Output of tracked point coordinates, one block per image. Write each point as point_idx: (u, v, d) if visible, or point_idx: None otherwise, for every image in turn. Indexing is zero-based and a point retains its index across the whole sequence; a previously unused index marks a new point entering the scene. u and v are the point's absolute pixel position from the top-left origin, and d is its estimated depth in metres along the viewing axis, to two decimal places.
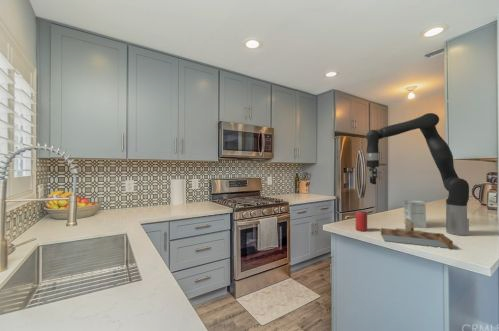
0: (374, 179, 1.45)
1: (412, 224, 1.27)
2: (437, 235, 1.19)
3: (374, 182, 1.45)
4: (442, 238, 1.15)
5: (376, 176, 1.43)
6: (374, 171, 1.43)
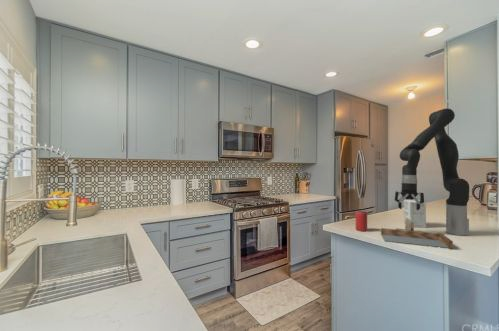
0: None
1: (412, 224, 1.27)
2: (437, 235, 1.19)
3: None
4: (442, 238, 1.15)
5: None
6: None
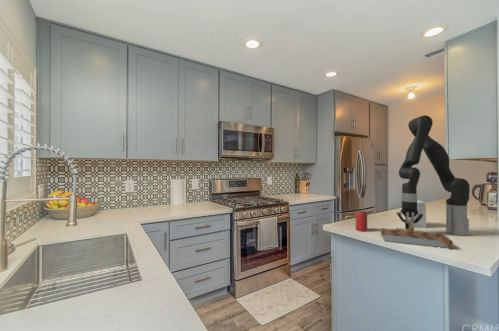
0: None
1: (412, 224, 1.27)
2: (437, 235, 1.19)
3: None
4: (442, 238, 1.15)
5: None
6: None
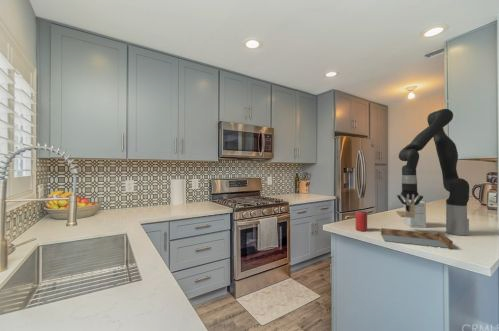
0: None
1: (412, 205, 1.27)
2: (437, 235, 1.19)
3: None
4: (442, 238, 1.15)
5: None
6: None
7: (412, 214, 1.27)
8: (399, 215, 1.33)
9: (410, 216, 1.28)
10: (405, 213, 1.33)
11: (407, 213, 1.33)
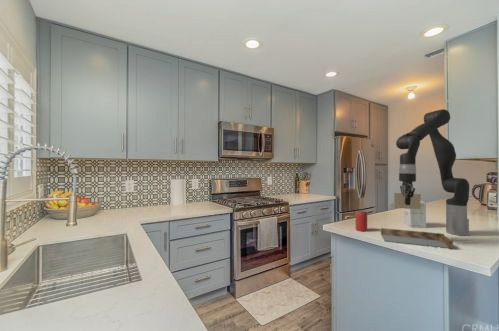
0: (408, 199, 1.19)
1: (394, 194, 1.22)
2: (437, 235, 1.19)
3: (408, 202, 1.19)
4: (442, 238, 1.15)
5: (412, 195, 1.17)
6: (411, 191, 1.15)
7: (394, 204, 1.22)
8: None
9: (393, 206, 1.23)
10: None
11: None
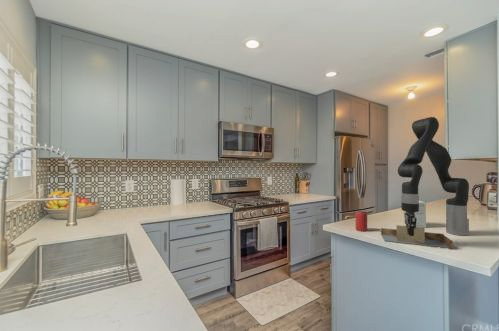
0: (412, 229, 1.14)
1: (396, 227, 1.19)
2: (437, 235, 1.19)
3: (411, 233, 1.14)
4: (442, 238, 1.15)
5: (415, 227, 1.12)
6: (413, 221, 1.11)
7: (396, 236, 1.20)
8: None
9: (396, 238, 1.20)
10: None
11: None
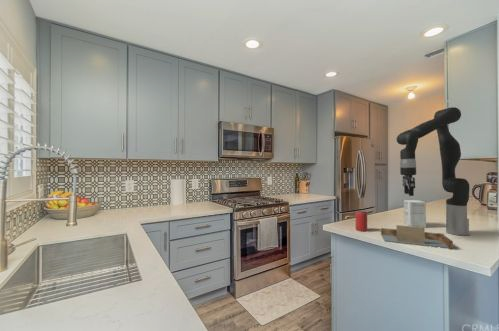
0: (411, 190, 1.23)
1: (396, 227, 1.19)
2: (437, 235, 1.19)
3: (411, 193, 1.23)
4: (442, 238, 1.15)
5: (414, 186, 1.21)
6: (411, 180, 1.22)
7: (396, 236, 1.20)
8: None
9: (396, 238, 1.20)
10: None
11: None
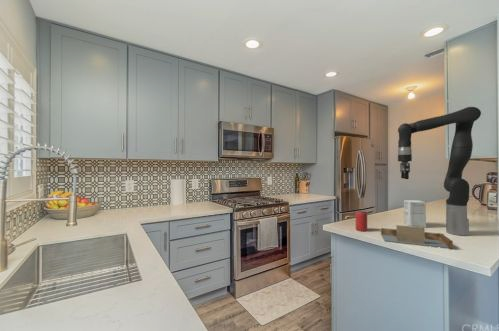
0: (407, 174, 1.42)
1: (396, 227, 1.19)
2: (437, 235, 1.19)
3: (407, 177, 1.42)
4: (442, 238, 1.15)
5: (409, 171, 1.39)
6: (407, 165, 1.40)
7: (396, 236, 1.20)
8: None
9: (396, 238, 1.20)
10: None
11: None
